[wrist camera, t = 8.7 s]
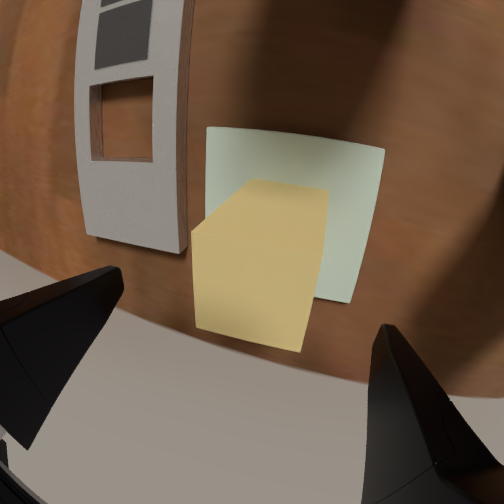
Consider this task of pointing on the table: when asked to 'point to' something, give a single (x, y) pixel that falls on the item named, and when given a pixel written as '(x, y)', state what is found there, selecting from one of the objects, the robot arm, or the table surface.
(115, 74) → the rail plate
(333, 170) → the sage mat
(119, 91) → the table surface
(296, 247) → the ochre block
